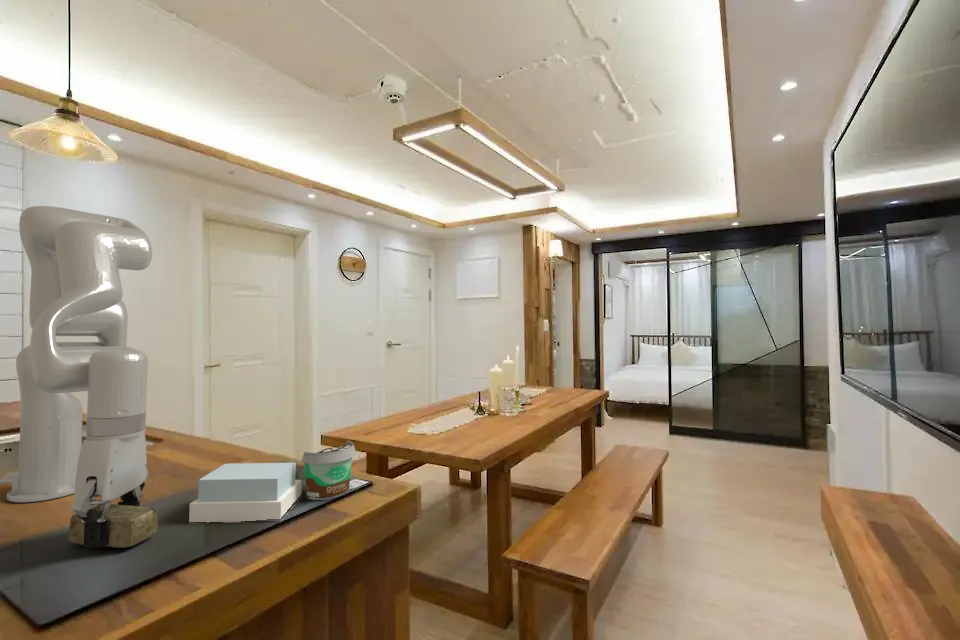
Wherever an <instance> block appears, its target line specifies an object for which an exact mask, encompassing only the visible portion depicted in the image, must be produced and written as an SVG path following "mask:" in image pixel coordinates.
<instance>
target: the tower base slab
mask: <svg viewBox="0 0 960 640" xmlns="http://www.w3.org/2000/svg"><path fill="white" fill-rule="evenodd" d="M302 483H303V480H302V479H295V483H294V484H293V485H292V486H291V487H290V488H289V489H288V490H287V491H286V492H285V493H284V494H283V495H282V496H281V497H280V498H279V499H278V500H277V501H223V502H198V497H197V498H196V499H194V500H193V501H192V502H190V503H189V514H188V517H189V520H188V523H189V522H207V523H206V524H209V522H223V523H245V522H244V521H256V520H267V519H281V517H282V516H283V515H284V514H285V513H286V512H287V510H288V509H289V508H290V507H291V506H292V504H293V503H294V502H295V501H296V500H297V498H298V497H299V496H300V495H301V494H302V492H303V491H302V490H303V489H302V488H303V487H302V486H303V484H302ZM241 521H243V522H241Z"/></svg>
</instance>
